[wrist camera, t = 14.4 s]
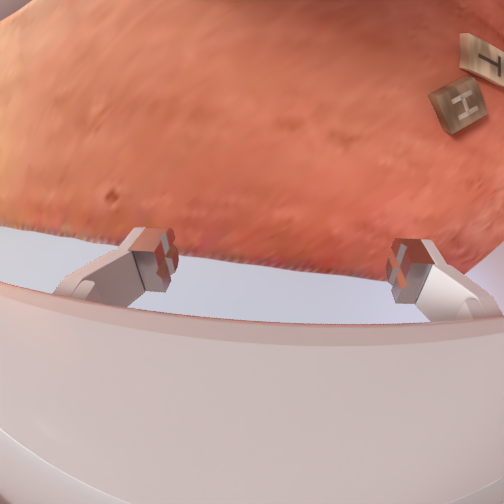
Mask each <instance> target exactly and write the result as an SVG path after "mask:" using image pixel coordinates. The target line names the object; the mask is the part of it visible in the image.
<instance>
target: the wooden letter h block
mask: <svg viewBox="0 0 504 504" xmlns="http://www.w3.org/2000/svg"><path fill="white" fill-rule="evenodd" d="M428 97H429V99H430V101H431V103H432V105H433V107H434V110H435V112H436V114H437V116H438V119H439V121H440V123H441V126H442V128H443V130H444V131H446V132H448V133H450V134H454V133H456V132H457V131H459V130H461V129H462V128H464V127H466V126H468V125H469V124H471V123H473V122H475V121H476V120H478V119H480V118H482V117H483V116H485V115H487V114H488V111H487V108H486V105H485V103H484V100H483V97H482V95H481V92H480V90H479V87H478V85H477V82H476V80H475V77H469V76H464V77H462V78H460V79H458V80H456V81H454V82H452V83H450V84H448V85H446V86H444V87H442V88H440V89H438V90H436V91H434V92H432V93H431V94H429V95H428Z"/></svg>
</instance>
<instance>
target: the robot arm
mask: <svg viewBox="0 0 504 504" xmlns="http://www.w3.org/2000/svg"><path fill="white" fill-rule="evenodd" d="M174 240H175V235H174V231H173V230H172V229H171V228H155V227H135V228H134V229H133V230H132V231H131V232H130V234H129V235H128V236H127V237H126V239H125V240H124V241H123V242H122V244H121V245H120V246H119V247H118V249H117V250H112V251H111V252H109V253H107V254H105V255H103V256H101V257H99V258H97V259H96V260H94V261H92V262H90V263H89V264H87V265H85V266H83V267H81V268H80V269H78V270H76V271H74V272H72V273H71V274H69V275H67V276H66V277H65V278H64V279H63V280H62V282H61V283H60V284H59V286H58V287H57V288H56V290H55V291H54V292H53V294H49V293H44V292H40V291H36V290H31V289H27V288H23V287H19V286H14V285H10V284H6V283H3V282H0V504H504V316H503V314H502V312H501V310H500V308H499V306H498V304H497V303H496V301H495V299H494V297H493V296H491V295H490V294H489V293H488V292H486V291H485V290H483V289H482V288H481V287H480V286H478V285H477V284H476V283H474V282H473V281H472V280H470V279H469V278H468V277H466V276H465V275H464V274H462V273H461V272H459V271H458V270H456V269H455V268H454V267H452V266H451V265H447V264H446V262H445V261H444V259H443V257H442V256H441V254H440V253H439V251H438V249H437V248H436V246H435V245H434V243H433V242H432V241H431V240H429V239H402V238H395V240H394V241H393V244H392V247H391V248H392V251H393V254H392V255H391V256H390V257H389V258H388V261H387V264H386V276H387V280H388V282H389V283H390V284H391V285H392V286H393V287H392V290H391V291H392V294H393V297H394V300H395V303H403V304H415V305H416V306H417V307H418V308H419V309H420V310H421V311H422V313H423V314H424V315H425V316H426V317H427V318H428V319H429V320H430V321H431V322H425V323H402V324H304V323H280V322H260V321H246V320H233V319H221V318H210V317H199V316H189V315H181V314H172V313H164V312H156V311H148V310H141V309H134V308H127V307H128V306H129V305H130V304H131V303H132V302H133V301H135V300H136V299H137V298H139V297H140V296H141V295H142V294H143V293H144V292H145V291H153V292H166V290H167V288H168V286H169V284H170V282H171V277H170V275H172V274H173V273H175V271H176V269H177V266H178V261H179V258H178V249H177V247H176V246H175V245H174V244H173V241H174Z"/></svg>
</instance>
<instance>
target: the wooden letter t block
mask: <svg viewBox="0 0 504 504" xmlns="http://www.w3.org/2000/svg"><path fill="white" fill-rule="evenodd" d="M459 68H461V69H464V70H466V71H468V72H470V73H473V74H475V75H477V76H479V77H481V78H484V79H486V80H488V81H490V82H492V83H494V84H496V85H498V86H502V87H504V52H503V51H501V50H499V49H498V48H496V47H494V46H492V45H491V44H489V43H487V42H485V41H483V40H482V39H480V38H478V37H476V36H474V35H472V34H470V33H462V34H460V62H459Z"/></svg>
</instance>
